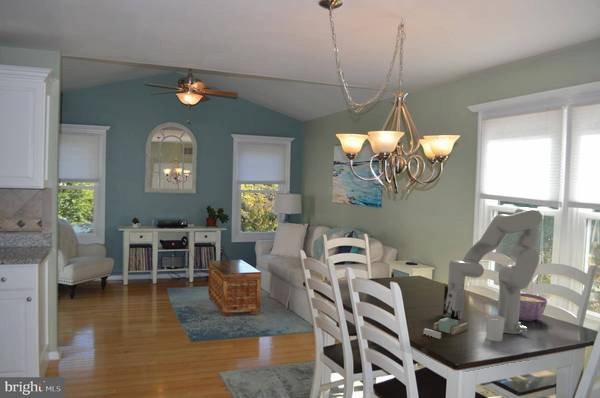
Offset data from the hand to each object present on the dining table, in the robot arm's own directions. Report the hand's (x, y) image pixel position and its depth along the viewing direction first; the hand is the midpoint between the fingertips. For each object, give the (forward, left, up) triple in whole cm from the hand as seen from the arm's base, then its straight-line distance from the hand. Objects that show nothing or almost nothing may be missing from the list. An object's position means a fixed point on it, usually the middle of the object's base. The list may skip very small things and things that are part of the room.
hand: (453, 323), depth 242 cm
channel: (0, +3, -2) cm, 4 cm away
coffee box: (+11, -19, -2) cm, 22 cm away
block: (0, +6, -2) cm, 6 cm away
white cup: (-20, 0, -2) cm, 20 cm away
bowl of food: (-15, -48, -2) cm, 50 cm away
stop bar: (0, +20, -2) cm, 20 cm away
